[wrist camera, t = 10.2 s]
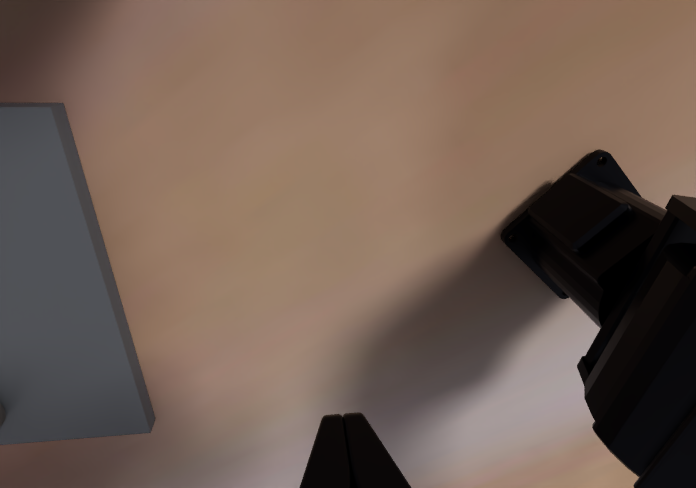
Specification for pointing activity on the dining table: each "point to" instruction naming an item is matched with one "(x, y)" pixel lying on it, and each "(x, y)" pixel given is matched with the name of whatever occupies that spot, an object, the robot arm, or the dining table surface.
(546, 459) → the dining table surface
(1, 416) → the lever
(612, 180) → the robot arm
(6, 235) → the dial plate
